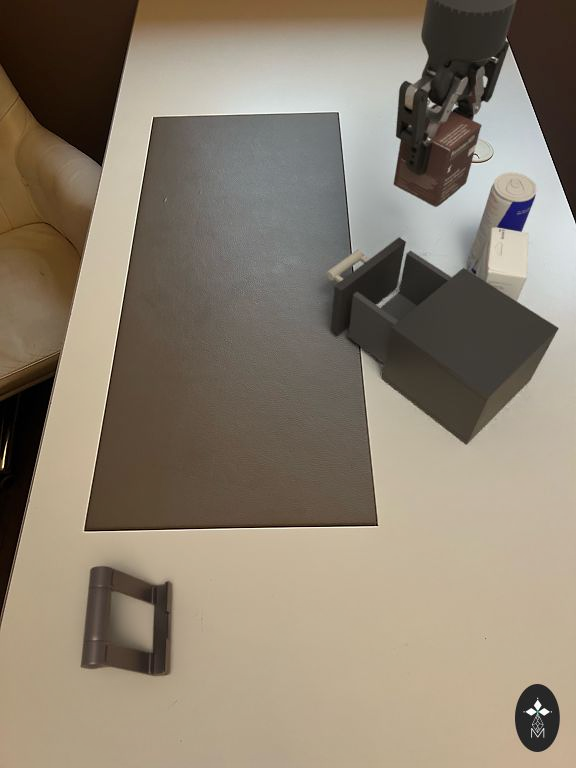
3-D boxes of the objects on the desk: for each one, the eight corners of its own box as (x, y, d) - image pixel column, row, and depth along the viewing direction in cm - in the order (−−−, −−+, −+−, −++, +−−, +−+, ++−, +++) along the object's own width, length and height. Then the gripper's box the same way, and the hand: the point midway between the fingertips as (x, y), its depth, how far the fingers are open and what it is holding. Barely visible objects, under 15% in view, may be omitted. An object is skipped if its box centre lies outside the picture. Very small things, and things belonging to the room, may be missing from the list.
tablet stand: (171, 677, 61) (155, 660, 54) (90, 684, 61) (64, 668, 54) (173, 587, 66) (159, 561, 59) (98, 593, 66) (75, 568, 59)
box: (435, 210, 68) (449, 151, 62) (391, 185, 70) (400, 126, 64) (467, 183, 70) (483, 124, 64) (423, 160, 72) (435, 101, 66)
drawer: (308, 313, 86) (309, 267, 79) (368, 268, 91) (374, 221, 84) (401, 385, 79) (412, 342, 72) (461, 332, 84) (477, 286, 77)
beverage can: (480, 288, 90) (510, 204, 77) (459, 262, 93) (484, 178, 80) (512, 276, 91) (547, 192, 79) (491, 251, 94) (520, 166, 81)
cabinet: (381, 379, 81) (391, 326, 72) (446, 322, 86) (463, 267, 77) (466, 445, 75) (488, 397, 67) (530, 380, 81) (559, 328, 72)
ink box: (502, 340, 84) (529, 278, 75) (465, 333, 85) (487, 272, 75) (504, 293, 89) (530, 230, 79) (469, 288, 90) (490, 224, 80)
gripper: (456, 32, 49) (420, 204, 63) (558, -26, 55) (504, 144, 68) (384, 0, 52) (365, 170, 66) (488, -52, 58) (450, 115, 71)
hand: (436, 156), depth 67 cm, fingers closed on box, 6 cm apart
